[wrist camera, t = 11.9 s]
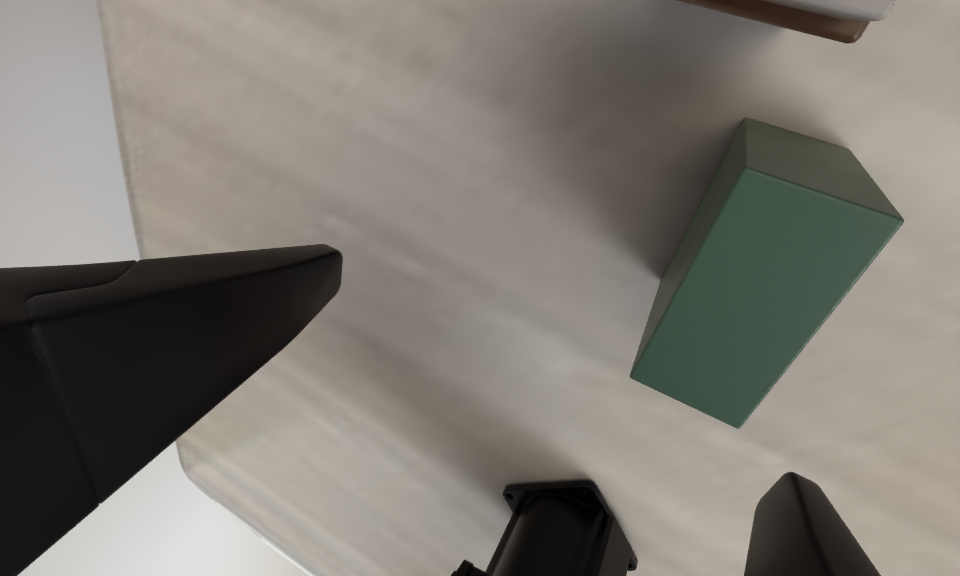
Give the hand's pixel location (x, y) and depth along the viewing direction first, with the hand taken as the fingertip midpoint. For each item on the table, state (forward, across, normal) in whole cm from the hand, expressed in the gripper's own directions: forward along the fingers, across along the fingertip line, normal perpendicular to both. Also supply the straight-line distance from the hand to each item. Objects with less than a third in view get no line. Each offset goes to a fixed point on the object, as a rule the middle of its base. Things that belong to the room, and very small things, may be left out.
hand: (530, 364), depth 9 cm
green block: (+13, -4, 0) cm, 13 cm away
